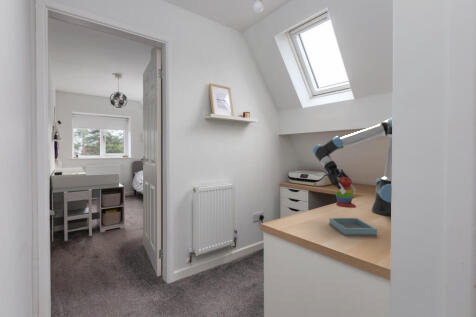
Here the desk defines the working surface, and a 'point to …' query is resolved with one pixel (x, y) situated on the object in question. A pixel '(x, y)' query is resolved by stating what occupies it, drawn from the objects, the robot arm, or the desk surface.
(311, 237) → the desk surface
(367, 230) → the blue-grey square tray
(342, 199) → the stacking bear
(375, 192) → the robot arm
